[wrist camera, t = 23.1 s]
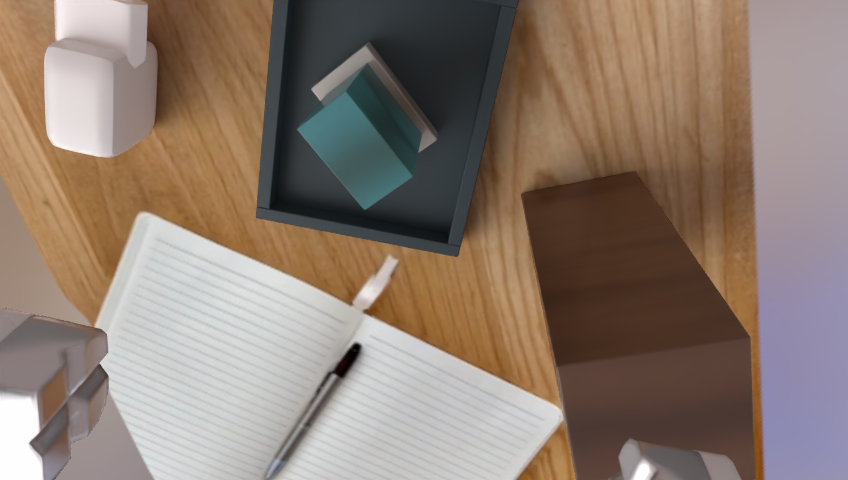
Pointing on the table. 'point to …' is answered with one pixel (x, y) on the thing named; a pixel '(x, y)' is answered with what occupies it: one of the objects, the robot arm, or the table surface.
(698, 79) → the table surface
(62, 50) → the power adapter
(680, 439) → the stand
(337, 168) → the eraser
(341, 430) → the table surface
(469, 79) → the tray
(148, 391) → the table surface
